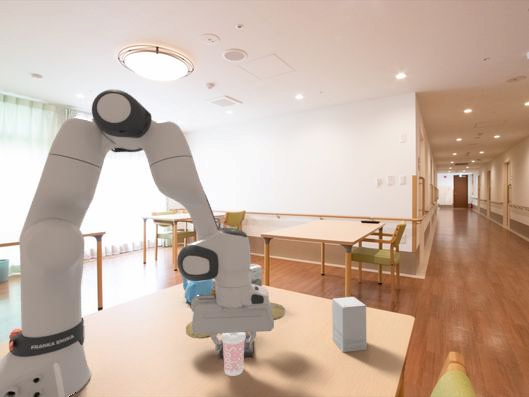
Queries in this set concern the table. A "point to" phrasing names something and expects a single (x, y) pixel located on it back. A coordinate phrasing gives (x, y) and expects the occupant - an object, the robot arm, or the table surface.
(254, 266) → the syrup box
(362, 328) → the supplement box
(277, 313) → the balance
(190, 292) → the teapot
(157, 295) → the table surface
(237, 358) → the beverage cup
